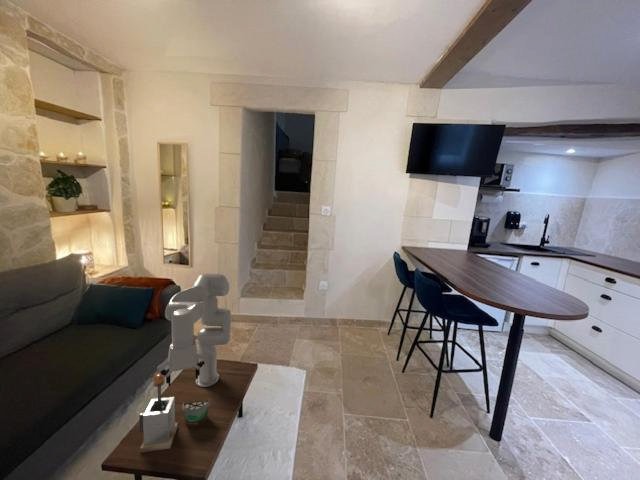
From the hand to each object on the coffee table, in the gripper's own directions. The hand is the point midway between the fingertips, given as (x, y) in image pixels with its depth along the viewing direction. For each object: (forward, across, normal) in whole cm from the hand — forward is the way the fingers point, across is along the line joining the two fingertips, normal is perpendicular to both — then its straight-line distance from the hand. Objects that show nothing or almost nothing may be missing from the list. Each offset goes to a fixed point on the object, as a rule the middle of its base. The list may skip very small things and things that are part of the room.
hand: (183, 380), depth 104 cm
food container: (+33, -5, -11) cm, 35 cm away
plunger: (+22, +9, -10) cm, 25 cm away
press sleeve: (+30, +10, -10) cm, 34 cm away
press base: (+32, +9, -10) cm, 35 cm away
